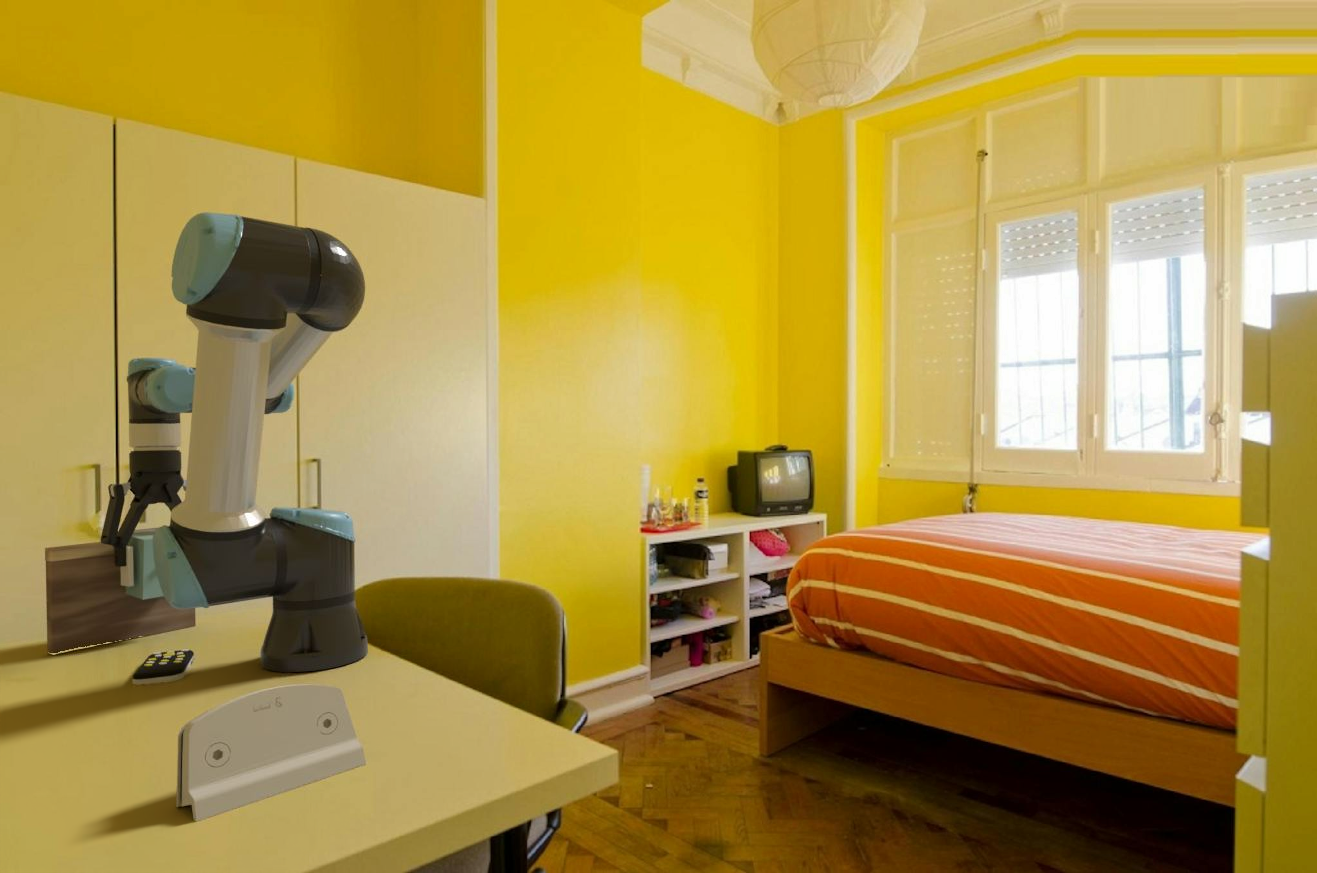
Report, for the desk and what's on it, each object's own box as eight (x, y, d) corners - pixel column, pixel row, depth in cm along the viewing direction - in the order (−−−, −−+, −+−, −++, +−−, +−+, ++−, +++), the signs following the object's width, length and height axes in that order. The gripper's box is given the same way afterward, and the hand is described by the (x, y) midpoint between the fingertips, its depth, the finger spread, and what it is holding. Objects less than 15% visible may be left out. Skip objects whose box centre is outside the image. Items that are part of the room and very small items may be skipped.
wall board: (196, 626, 144) (194, 532, 144) (53, 655, 125) (51, 548, 125) (189, 624, 145) (187, 532, 145) (46, 653, 126) (44, 547, 126)
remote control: (130, 689, 109) (130, 675, 109) (149, 664, 121) (148, 651, 121) (181, 683, 111) (181, 669, 111) (195, 659, 123) (195, 647, 123)
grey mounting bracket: (191, 823, 70) (177, 708, 72) (175, 825, 73) (162, 715, 75) (369, 763, 82) (352, 666, 84) (349, 766, 85) (333, 673, 87)
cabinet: (189, 593, 136) (191, 535, 136) (145, 600, 130) (147, 540, 130) (157, 582, 142) (158, 527, 142) (113, 589, 136) (114, 532, 136)
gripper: (207, 447, 146) (209, 569, 146) (72, 450, 128) (75, 589, 128) (230, 447, 142) (232, 572, 142) (93, 450, 124) (96, 594, 124)
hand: (157, 580), depth 135 cm, fingers open, 9 cm apart
